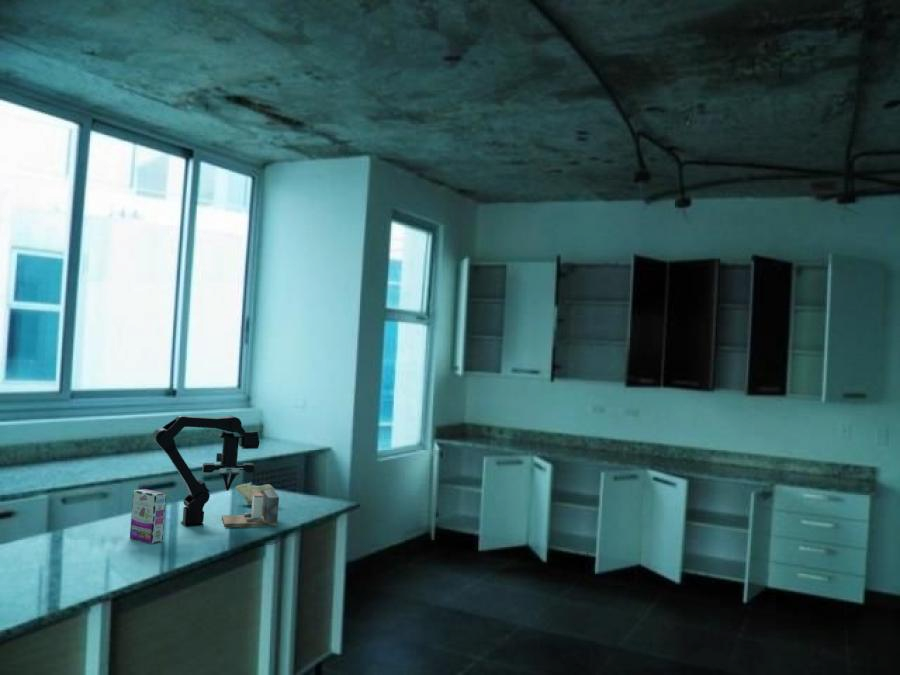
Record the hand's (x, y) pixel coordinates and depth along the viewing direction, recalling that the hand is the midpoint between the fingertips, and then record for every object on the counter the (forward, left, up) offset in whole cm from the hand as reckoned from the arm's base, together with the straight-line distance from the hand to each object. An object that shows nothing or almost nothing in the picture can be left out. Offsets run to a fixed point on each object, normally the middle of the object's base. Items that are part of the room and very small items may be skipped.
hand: (227, 490), depth 276 cm
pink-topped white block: (+10, -5, -10) cm, 15 cm away
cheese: (+20, +22, -12) cm, 32 cm away
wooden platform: (+8, -4, -12) cm, 15 cm away
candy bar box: (-32, -14, -12) cm, 37 cm away
